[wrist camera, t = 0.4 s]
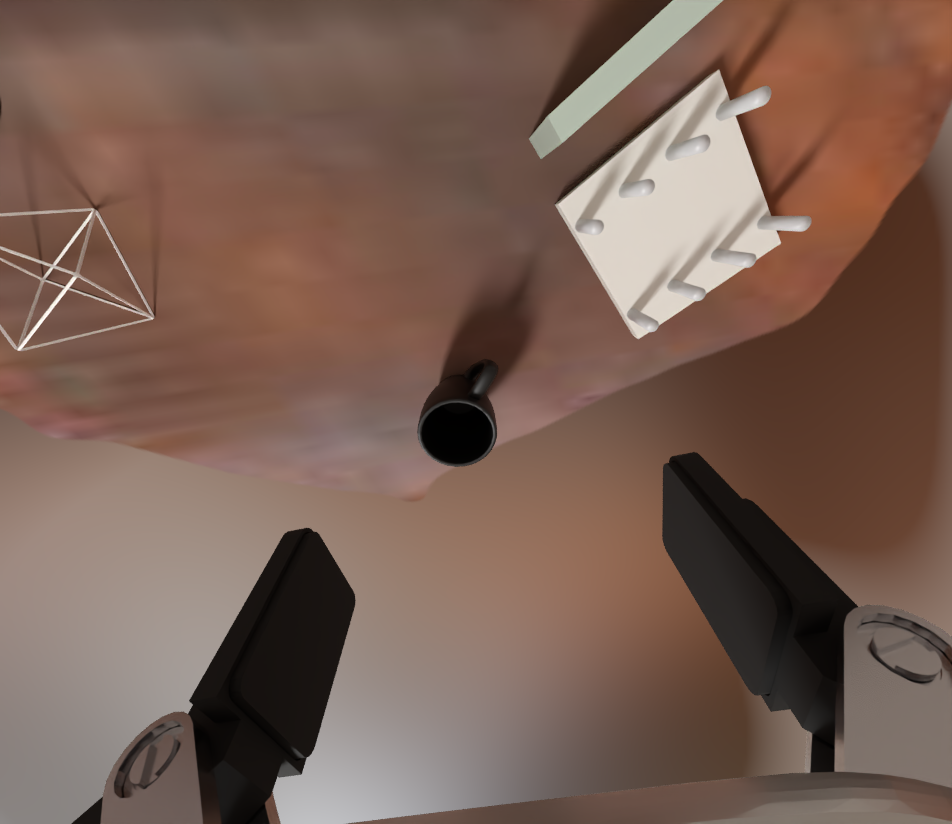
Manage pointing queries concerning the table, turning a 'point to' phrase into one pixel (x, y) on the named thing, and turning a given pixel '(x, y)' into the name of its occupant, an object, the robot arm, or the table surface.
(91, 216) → the geometric polyhedron
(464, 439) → the mug
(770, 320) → the table surface
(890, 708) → the robot arm
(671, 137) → the dish rack
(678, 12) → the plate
